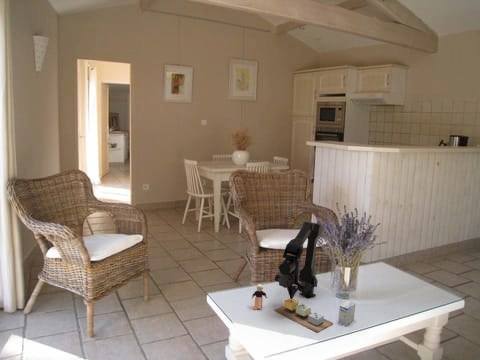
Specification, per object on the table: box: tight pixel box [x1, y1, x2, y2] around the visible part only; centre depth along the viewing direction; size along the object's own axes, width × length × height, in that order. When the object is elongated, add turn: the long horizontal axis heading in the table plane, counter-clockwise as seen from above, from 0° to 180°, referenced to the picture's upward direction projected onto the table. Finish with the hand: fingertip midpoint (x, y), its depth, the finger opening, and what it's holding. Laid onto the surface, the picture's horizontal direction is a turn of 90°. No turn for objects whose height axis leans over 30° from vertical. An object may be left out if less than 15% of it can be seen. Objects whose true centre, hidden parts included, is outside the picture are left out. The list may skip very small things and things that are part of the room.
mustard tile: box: [283, 297, 300, 310], centre depth 196 cm, size 5×5×3 cm
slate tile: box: [308, 311, 325, 325], centre depth 186 cm, size 5×5×3 cm
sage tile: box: [296, 303, 312, 316], centre depth 191 cm, size 5×5×3 cm
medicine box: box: [337, 300, 356, 327], centre depth 188 cm, size 8×4×9 cm, turn 141°
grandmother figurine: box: [251, 283, 268, 311], centre depth 198 cm, size 8×4×13 cm, turn 105°
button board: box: [273, 305, 334, 334], centre depth 191 cm, size 12×26×1 cm, turn 43°
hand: (291, 298), depth 196 cm, fingers closed
